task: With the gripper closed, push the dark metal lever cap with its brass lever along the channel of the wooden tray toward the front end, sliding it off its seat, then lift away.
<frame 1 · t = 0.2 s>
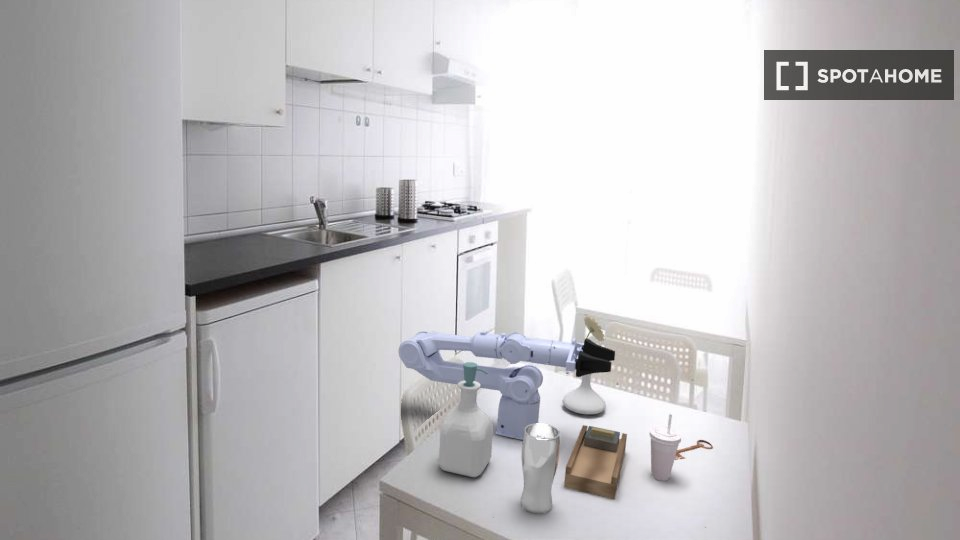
hand: (612, 361, 126), 21 cm above the table, tool horizontal, fingers open, 7 cm apart
smoothie: (660, 476, 121), on the table
flower in vase: (582, 408, 152), on the table
key: (689, 453, 132), on the table
wooden tray: (596, 468, 122), on the table
lever cap: (602, 436, 127), point 5 cm above the table, slide at 0.0 cm
soap bottle: (464, 467, 120), on the table
beer glass: (536, 505, 108), on the table
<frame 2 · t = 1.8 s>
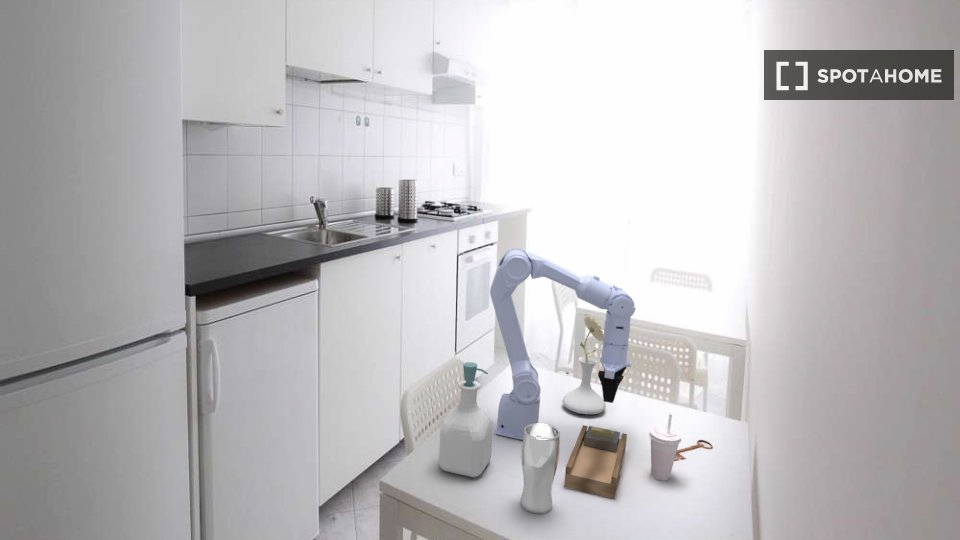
hand: (609, 397, 134), 10 cm above the table, tool pointing down, fingers open, 5 cm apart
nothing on the table moved.
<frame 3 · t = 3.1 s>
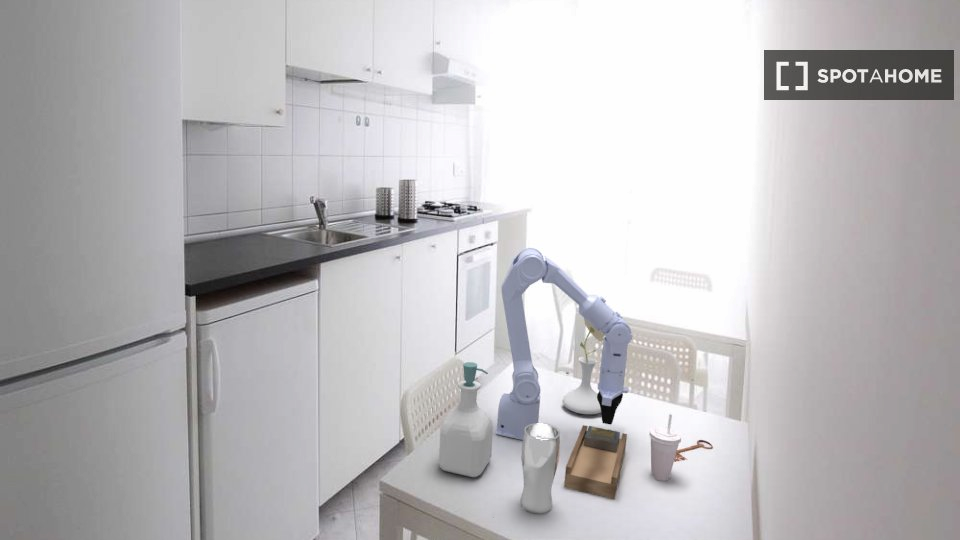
hand: (607, 422, 135), 4 cm above the table, tool pointing down, fingers closed
nothing on the table moved.
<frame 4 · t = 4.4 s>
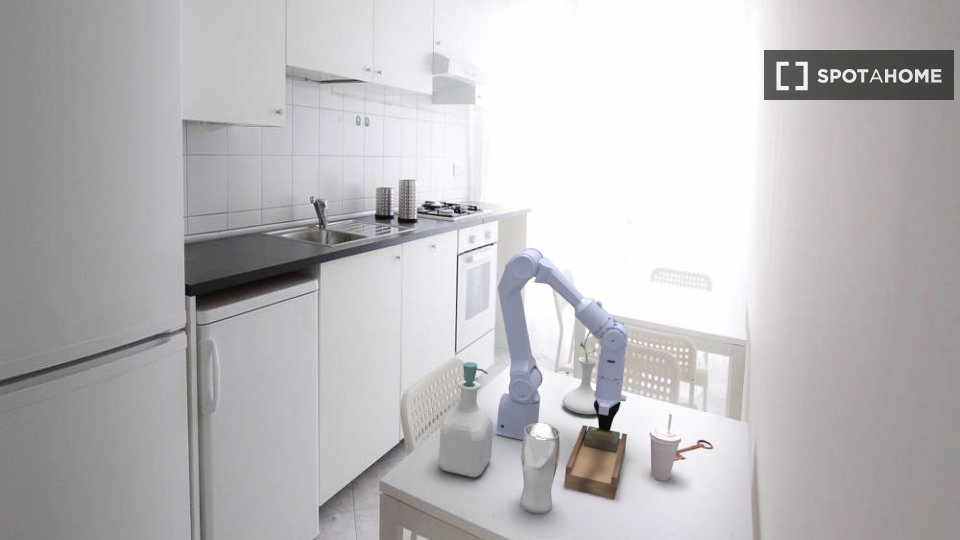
hand: (604, 431, 130), 4 cm above the table, tool pointing down, fingers closed
lever cap: (602, 436, 127), point 5 cm above the table, slide at 0.1 cm, touching gripper
everything else where it was.
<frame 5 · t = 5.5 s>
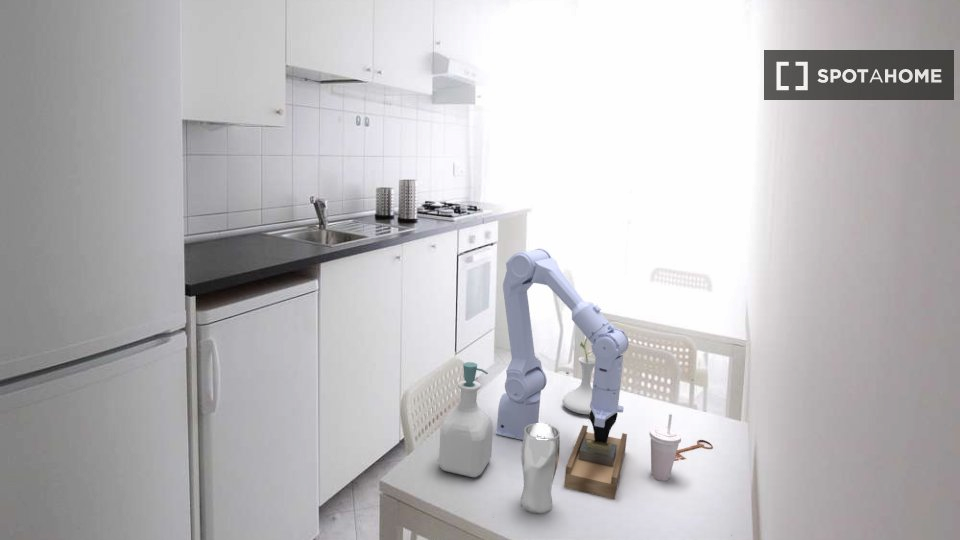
hand: (600, 444, 125), 4 cm above the table, tool pointing down, fingers closed
lever cap: (598, 449, 121), point 5 cm above the table, slide at 6.5 cm, touching gripper
everything else where it was.
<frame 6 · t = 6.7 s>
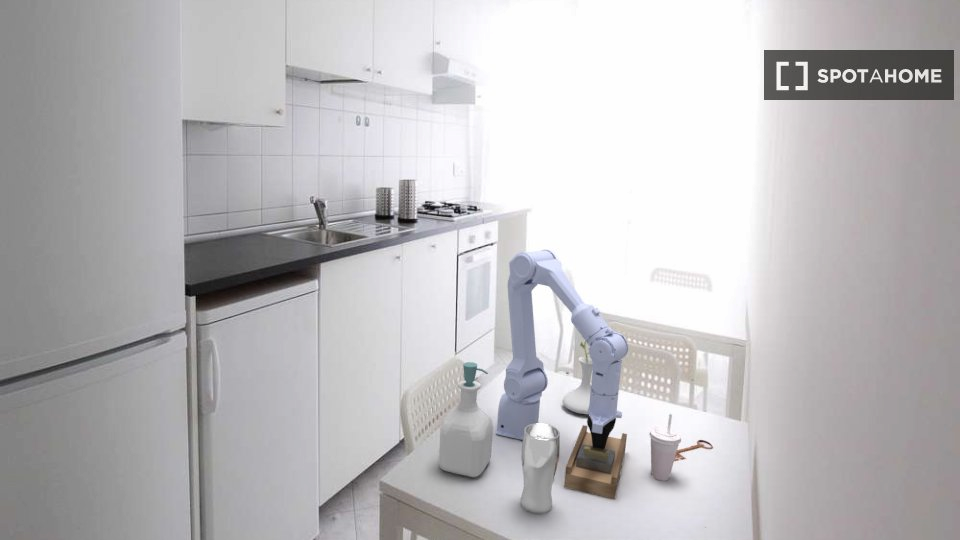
hand: (598, 450, 122), 4 cm above the table, tool pointing down, fingers closed
lever cap: (596, 456, 118), point 5 cm above the table, slide at 9.5 cm, touching gripper
everything else where it was.
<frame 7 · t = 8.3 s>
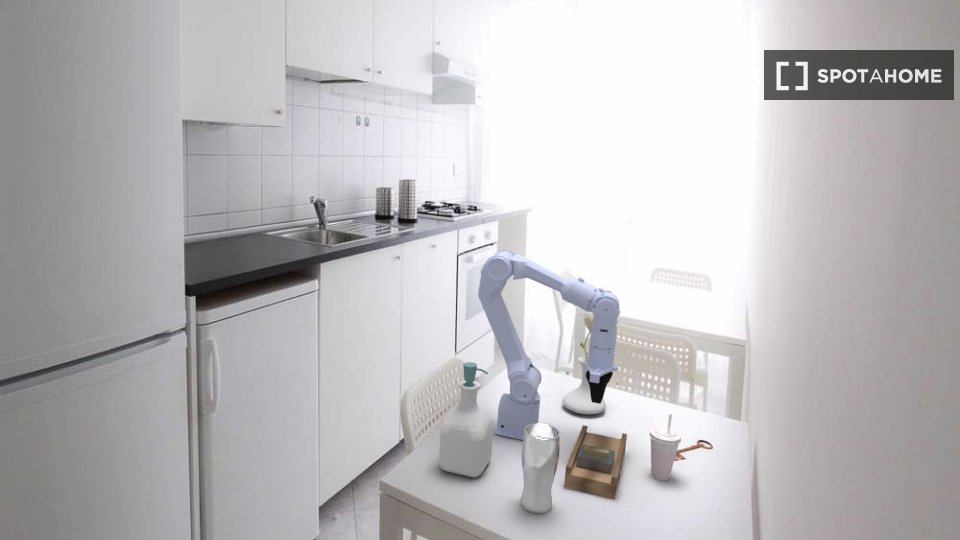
hand: (596, 401, 131), 10 cm above the table, tool pointing down, fingers closed
lever cap: (596, 456, 118), point 5 cm above the table, slide at 9.5 cm
everything else where it was.
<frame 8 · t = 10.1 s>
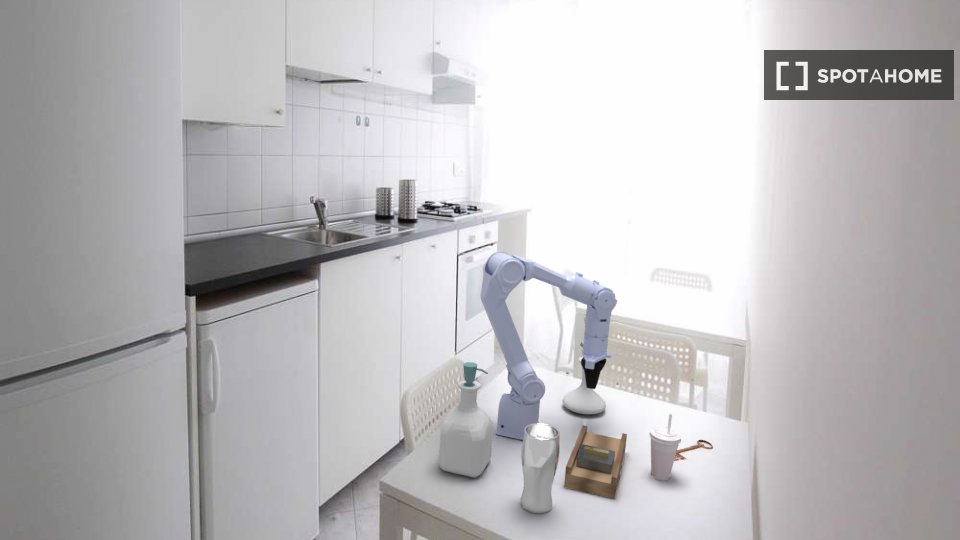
hand: (591, 387, 139), 10 cm above the table, tool pointing down, fingers closed
nothing on the table moved.
at the end: lever cap slide at 9.5 cm; the gripper is holding nothing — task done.
